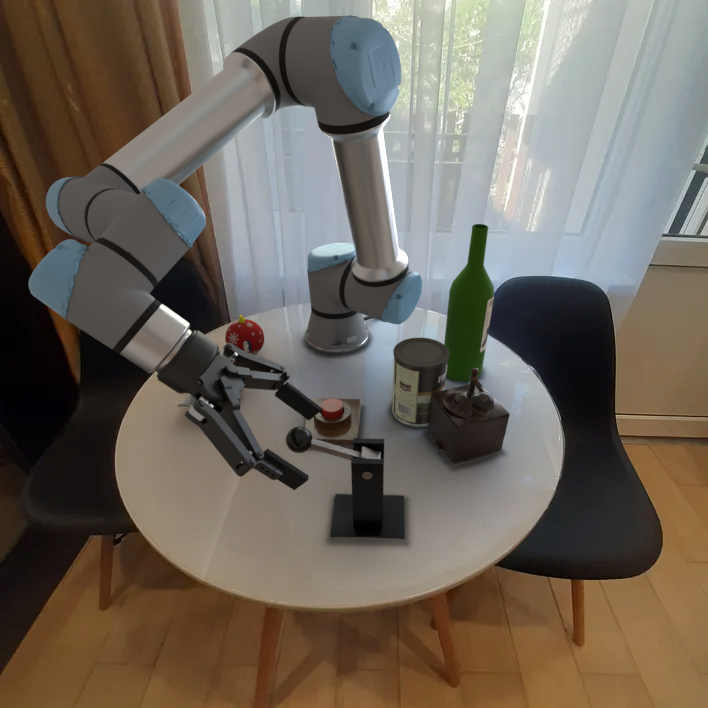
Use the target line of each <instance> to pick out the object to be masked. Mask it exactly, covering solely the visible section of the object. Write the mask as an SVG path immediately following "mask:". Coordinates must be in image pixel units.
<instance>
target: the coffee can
mask: <svg viewBox="0 0 708 708" xmlns="http://www.w3.org/2000/svg"><path fill="white" fill-rule="evenodd" d="M392 353H393V379H392V383H393V384H392V406H391V411H392V412H391V413H392V415H393V416H394V418H395V419H396V420H397V421H398V422H399V423H401V424H403V425H406V426H408V427H413V428H425V427H428V423H429V412H430V401H431V394H432V393H434V392H438V391H442V390H446V384H447V383H446V382H447V376H446V374H447V365H448V359H449V350H448V348H447V347H446V346H445V345H444V343H442V342H440V341H438V340H436V339H432V338H430V337H429V338H428V337H410V338H406V339H403V340H401V341H399V342H397V344H396V345H395V346H394V347H393V352H392Z"/></svg>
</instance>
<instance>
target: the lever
mask: <svg viewBox="0 0 708 708" xmlns="http://www.w3.org/2000/svg"><path fill="white" fill-rule="evenodd" d="M304 427H305V426H294V427H292V428H290V430H289V431H288V432H287V434H286V436H285V444H286V447H287V449H289V451H291V452H293V453H295V454H303V453H305V452H307V451H309V450H310V449H311V450H313V451H318V452H321V453H325V454H328V455H330V456H335V457H338V458H341V459H345V460H348V461H351V459H352V458H364V459H380V456H381V452H380V451H377V450H373V449H370V448H367V447H363V446H362V448H361V450H360V452H358V451H354V450H353V449H351V448H347V447H344V446H342V445H334V444H330V443H327V442H324V441H320V440H317V439H313V438H312V434H311V432H310V431H309V430H308V429H306V428H304Z"/></svg>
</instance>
